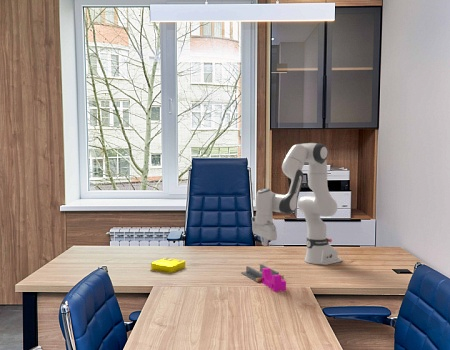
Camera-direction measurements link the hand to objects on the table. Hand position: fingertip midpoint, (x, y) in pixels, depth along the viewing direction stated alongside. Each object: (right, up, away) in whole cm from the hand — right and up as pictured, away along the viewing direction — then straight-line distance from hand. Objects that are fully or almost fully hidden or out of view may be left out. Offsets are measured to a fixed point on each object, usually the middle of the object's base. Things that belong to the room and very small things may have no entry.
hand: (264, 245), depth 249 cm
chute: (-1, -17, +3) cm, 17 cm away
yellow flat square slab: (-53, -16, +18) cm, 58 cm away
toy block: (+3, -19, -14) cm, 24 cm away
